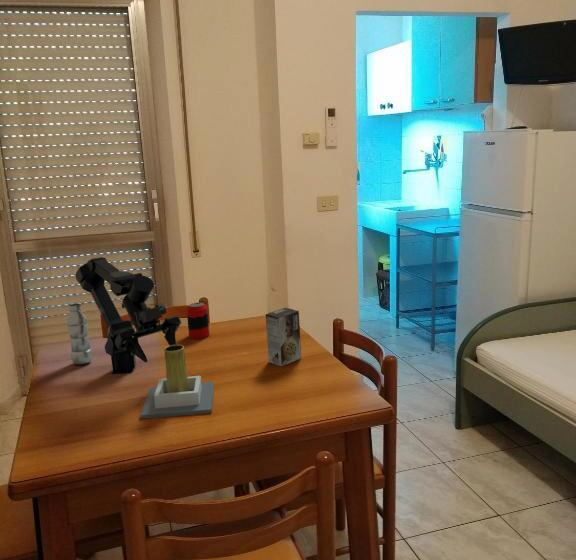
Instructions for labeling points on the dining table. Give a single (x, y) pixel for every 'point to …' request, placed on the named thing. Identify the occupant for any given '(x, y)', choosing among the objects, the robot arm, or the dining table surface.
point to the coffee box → (283, 336)
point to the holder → (179, 399)
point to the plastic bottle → (78, 335)
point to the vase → (176, 369)
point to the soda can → (198, 320)
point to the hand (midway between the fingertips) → (161, 356)
